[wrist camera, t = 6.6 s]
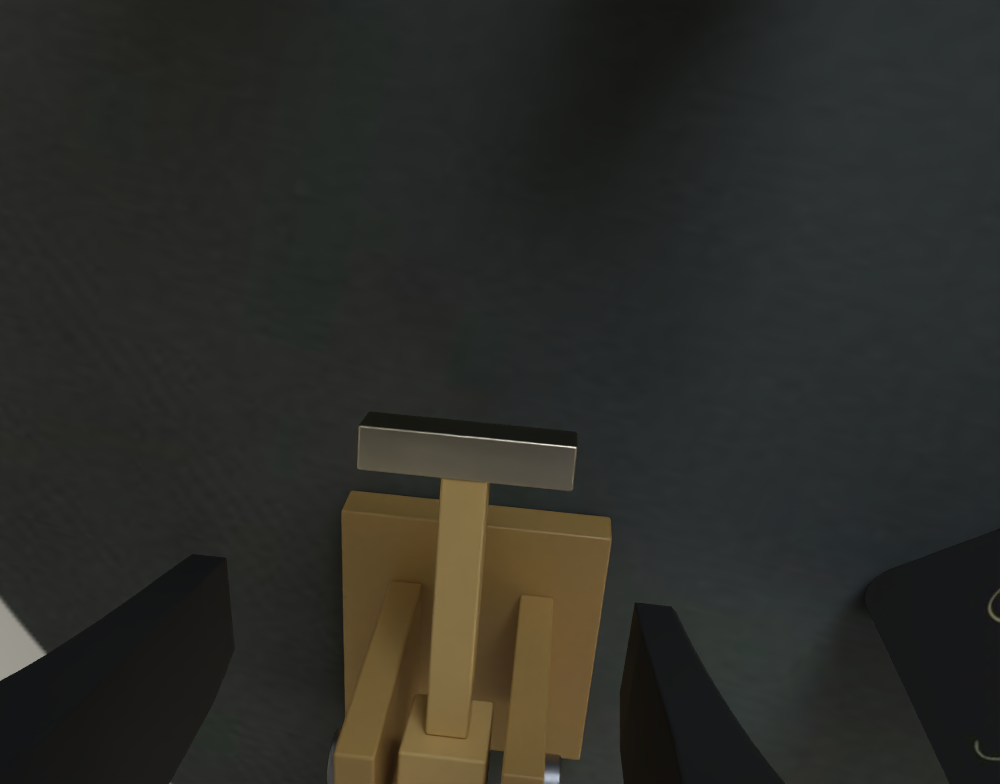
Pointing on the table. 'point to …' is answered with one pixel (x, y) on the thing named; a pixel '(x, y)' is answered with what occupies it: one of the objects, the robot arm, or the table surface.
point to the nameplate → (948, 650)
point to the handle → (459, 568)
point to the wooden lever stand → (501, 635)
